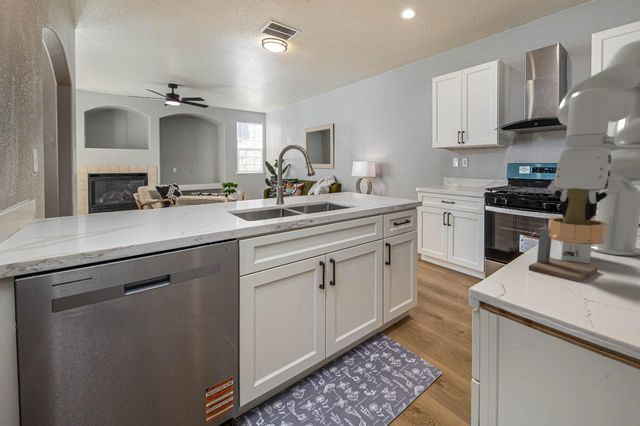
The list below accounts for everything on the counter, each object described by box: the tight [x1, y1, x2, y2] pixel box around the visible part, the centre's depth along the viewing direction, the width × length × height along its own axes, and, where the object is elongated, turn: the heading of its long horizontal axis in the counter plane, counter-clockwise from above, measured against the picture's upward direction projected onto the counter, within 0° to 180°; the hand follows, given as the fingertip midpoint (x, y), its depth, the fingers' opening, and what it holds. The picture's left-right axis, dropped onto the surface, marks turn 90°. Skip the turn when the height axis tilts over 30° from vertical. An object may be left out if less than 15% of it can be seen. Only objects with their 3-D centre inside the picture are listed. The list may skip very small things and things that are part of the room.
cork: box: [562, 188, 592, 225], centre depth 78 cm, size 6×6×11 cm
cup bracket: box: [528, 217, 608, 283], centre depth 80 cm, size 12×13×14 cm
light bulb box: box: [556, 240, 592, 264], centre depth 92 cm, size 11×7×11 cm, turn 148°
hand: (577, 217), depth 78 cm, fingers closed on cork, 3 cm apart
